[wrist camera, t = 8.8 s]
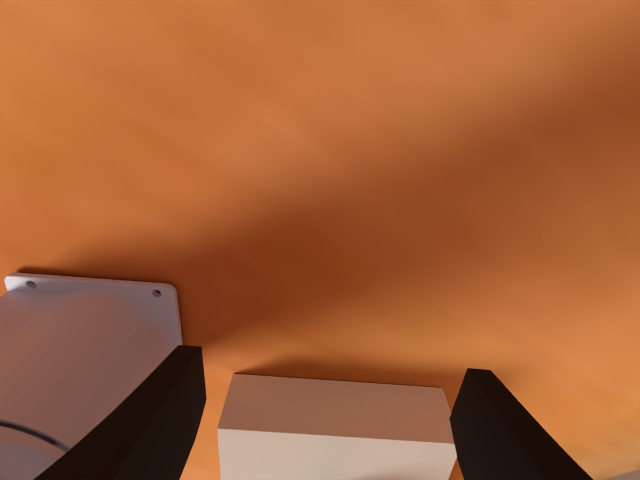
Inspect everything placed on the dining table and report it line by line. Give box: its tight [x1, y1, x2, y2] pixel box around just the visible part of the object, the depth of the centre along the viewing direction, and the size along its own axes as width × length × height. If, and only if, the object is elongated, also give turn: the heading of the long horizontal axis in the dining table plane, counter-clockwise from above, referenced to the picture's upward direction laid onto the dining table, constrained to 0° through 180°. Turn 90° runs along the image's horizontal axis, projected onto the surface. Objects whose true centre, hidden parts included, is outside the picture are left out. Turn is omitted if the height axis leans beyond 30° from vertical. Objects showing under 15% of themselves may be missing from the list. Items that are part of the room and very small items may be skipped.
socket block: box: [217, 374, 457, 480], centre depth 26 cm, size 14×14×4 cm
